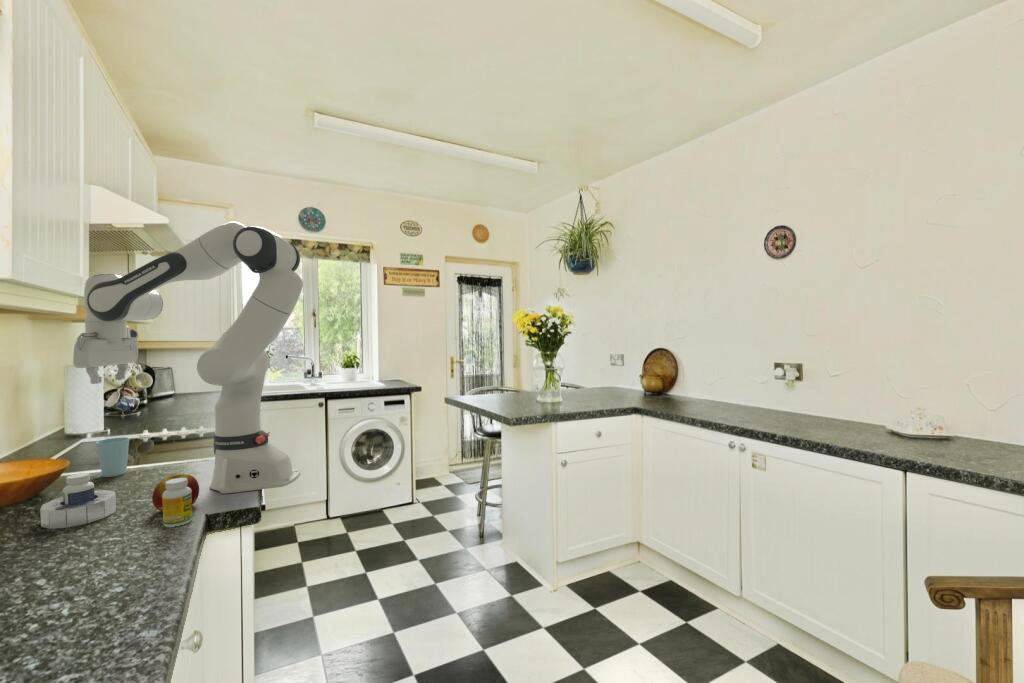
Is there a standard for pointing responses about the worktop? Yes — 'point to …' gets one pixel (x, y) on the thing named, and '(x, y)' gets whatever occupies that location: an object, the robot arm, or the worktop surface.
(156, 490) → the fruit
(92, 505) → the disc
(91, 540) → the worktop surface
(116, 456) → the cup
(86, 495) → the pill bottle
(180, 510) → the supplement bottle
